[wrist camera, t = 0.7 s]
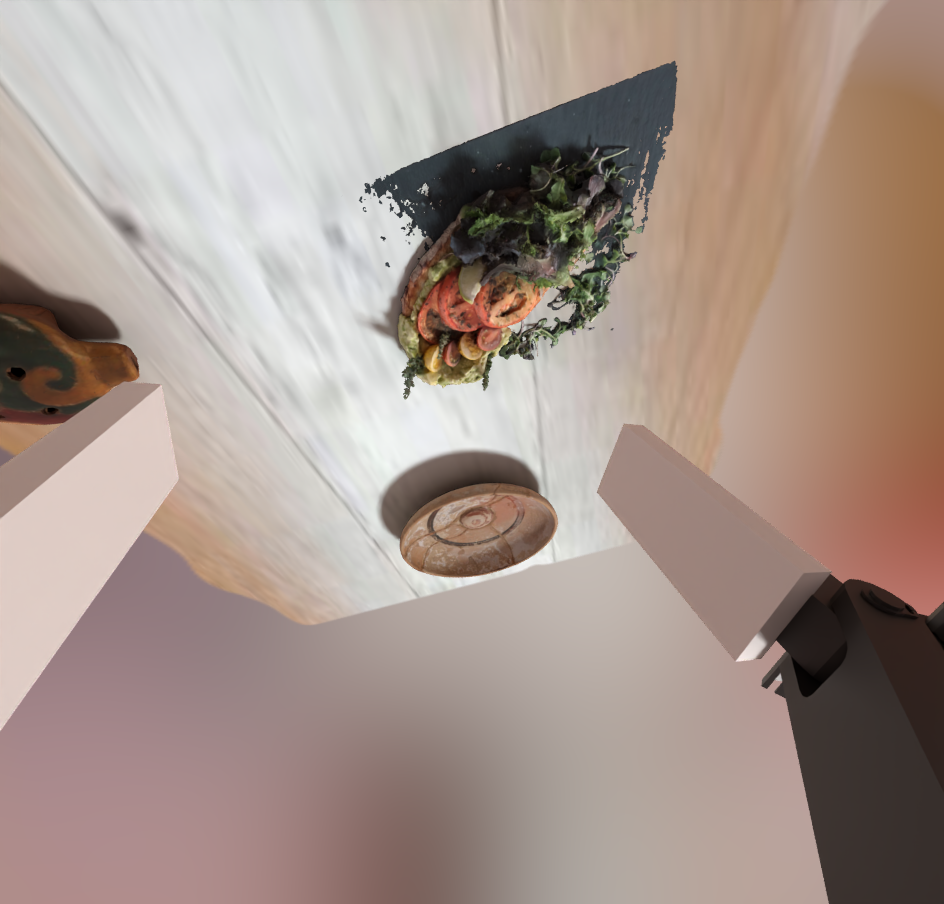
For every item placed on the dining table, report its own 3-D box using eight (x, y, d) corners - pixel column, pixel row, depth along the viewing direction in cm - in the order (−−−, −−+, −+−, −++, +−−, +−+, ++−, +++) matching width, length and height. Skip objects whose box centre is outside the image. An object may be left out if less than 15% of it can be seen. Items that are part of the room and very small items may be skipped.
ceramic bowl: (373, 491, 55) (373, 522, 51) (542, 445, 54) (554, 474, 51) (423, 565, 72) (426, 592, 69) (552, 531, 71) (561, 557, 68)
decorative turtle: (-134, 284, 29) (-245, 339, 23) (116, 277, 32) (70, 324, 26) (-26, 396, 35) (-93, 460, 30) (171, 381, 39) (144, 436, 33)
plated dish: (394, 440, 50) (397, 486, 45) (224, 188, 29) (194, 221, 24) (678, 337, 46) (716, 375, 41) (711, -31, 26) (794, -45, 21)
